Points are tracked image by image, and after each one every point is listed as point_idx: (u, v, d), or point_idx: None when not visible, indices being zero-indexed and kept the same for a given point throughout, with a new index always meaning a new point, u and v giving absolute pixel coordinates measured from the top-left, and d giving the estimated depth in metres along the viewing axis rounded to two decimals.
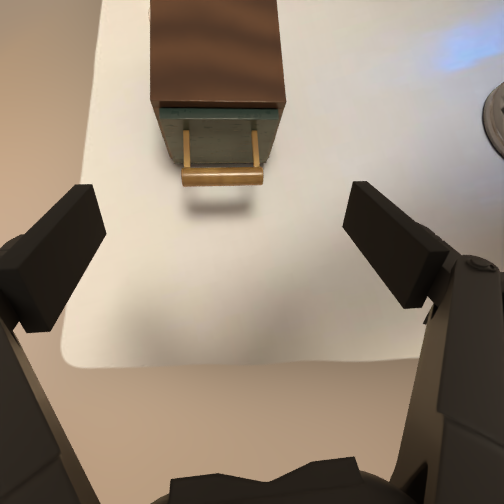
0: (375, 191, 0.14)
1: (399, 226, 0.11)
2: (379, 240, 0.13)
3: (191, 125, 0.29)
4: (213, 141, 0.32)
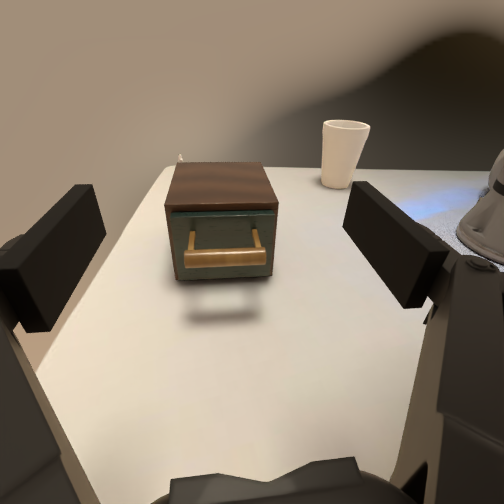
0: (375, 191, 0.14)
1: (399, 226, 0.11)
2: (379, 239, 0.13)
3: (197, 224, 0.32)
4: (217, 246, 0.34)
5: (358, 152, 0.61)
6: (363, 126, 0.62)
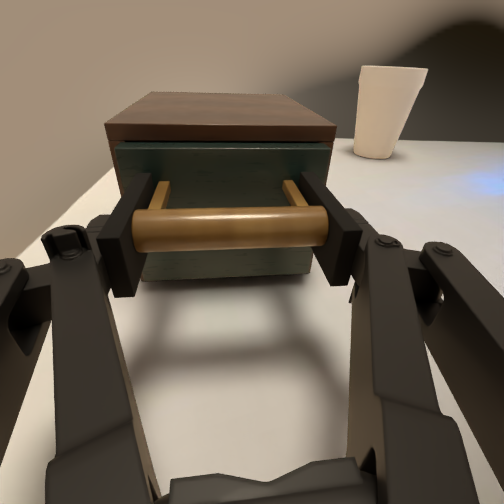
0: (317, 180, 0.15)
1: (327, 210, 0.12)
2: None
3: (174, 167, 0.16)
4: None
5: (410, 106, 0.45)
6: None
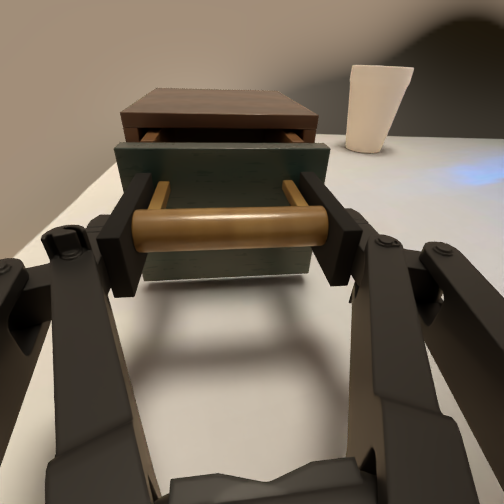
0: (317, 180, 0.15)
1: (327, 210, 0.12)
2: None
3: (173, 167, 0.16)
4: None
5: (397, 102, 0.48)
6: None
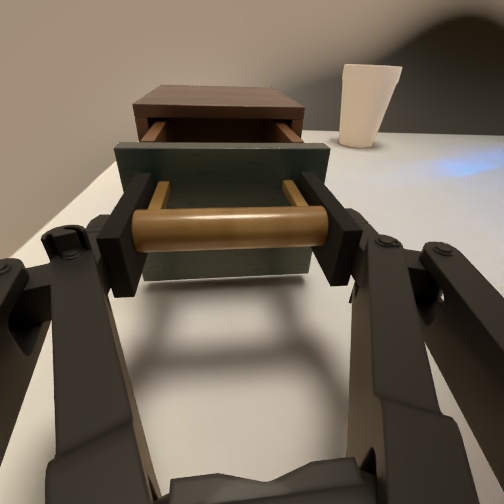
0: (317, 180, 0.15)
1: (327, 210, 0.12)
2: None
3: (173, 167, 0.16)
4: None
5: (387, 99, 0.51)
6: None
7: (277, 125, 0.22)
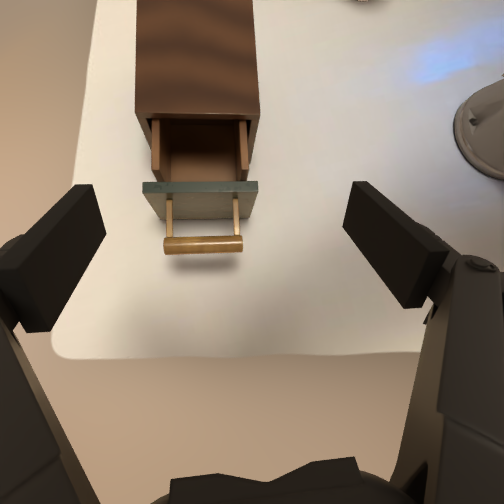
0: (375, 191, 0.14)
1: (399, 226, 0.11)
2: (379, 240, 0.13)
3: (174, 196, 0.30)
4: (196, 206, 0.33)
5: None
6: None
7: (239, 126, 0.32)
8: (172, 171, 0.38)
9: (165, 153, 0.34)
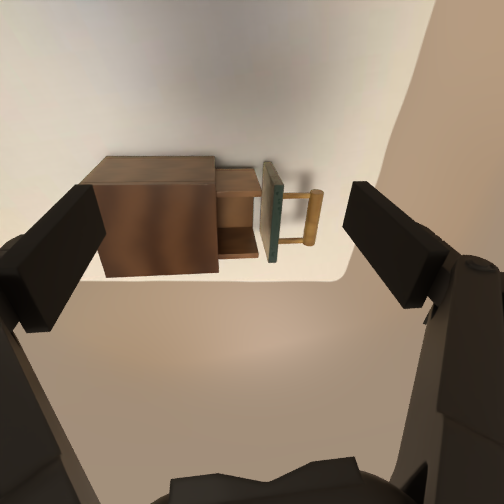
0: (375, 191, 0.14)
1: (399, 226, 0.11)
2: (379, 239, 0.13)
3: None
4: None
5: None
6: None
7: (220, 197, 0.35)
8: (230, 226, 0.46)
9: (230, 240, 0.43)
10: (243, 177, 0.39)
